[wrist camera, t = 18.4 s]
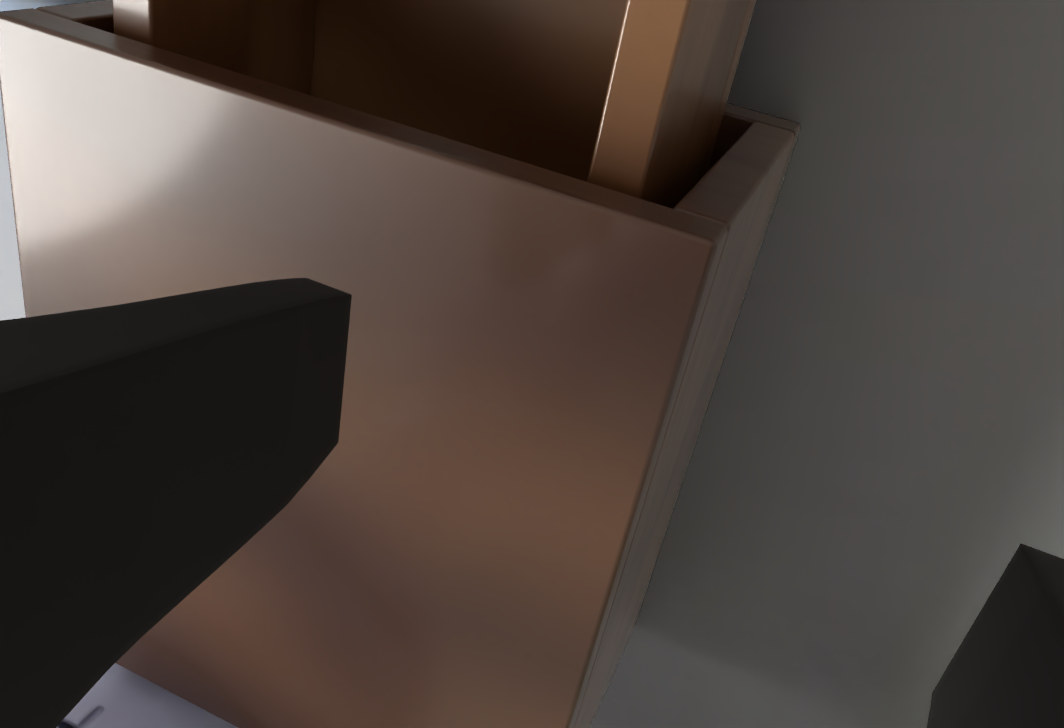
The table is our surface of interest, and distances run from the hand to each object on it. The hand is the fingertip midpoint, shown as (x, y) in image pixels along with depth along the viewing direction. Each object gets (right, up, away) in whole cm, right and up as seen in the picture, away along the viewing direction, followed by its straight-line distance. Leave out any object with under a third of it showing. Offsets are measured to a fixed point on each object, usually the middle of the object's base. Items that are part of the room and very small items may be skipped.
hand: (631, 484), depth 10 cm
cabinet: (-2, +2, +13) cm, 13 cm away
